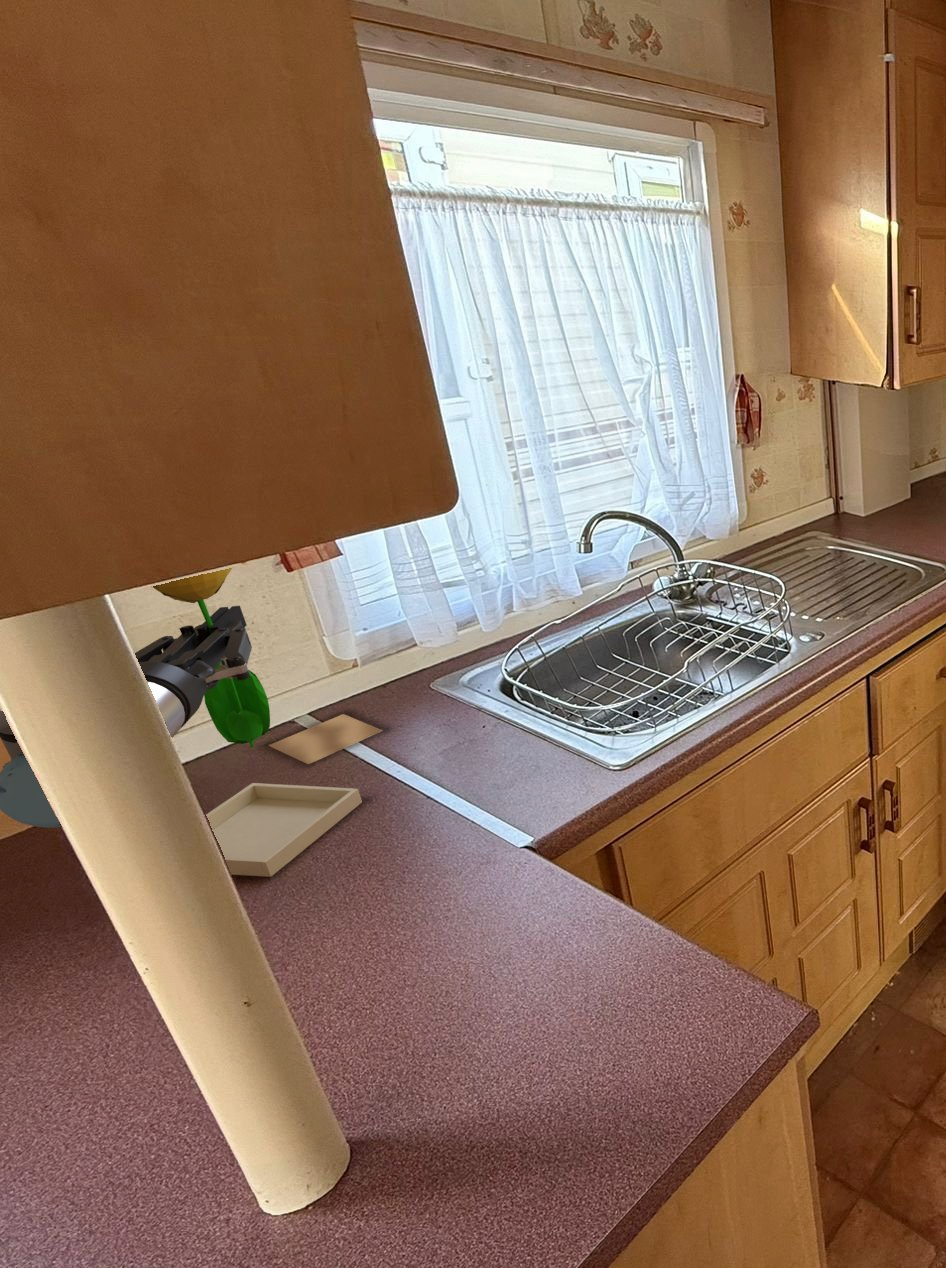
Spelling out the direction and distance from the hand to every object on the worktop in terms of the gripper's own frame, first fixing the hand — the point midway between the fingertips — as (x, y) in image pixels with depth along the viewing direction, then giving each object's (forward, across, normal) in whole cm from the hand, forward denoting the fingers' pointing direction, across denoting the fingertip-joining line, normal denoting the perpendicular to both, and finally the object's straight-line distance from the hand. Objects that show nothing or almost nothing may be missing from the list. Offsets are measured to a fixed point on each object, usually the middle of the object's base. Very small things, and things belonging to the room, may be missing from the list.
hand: (233, 616), depth 105 cm
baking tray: (-10, 0, -26) cm, 28 cm away
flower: (-6, 0, -16) cm, 17 cm away
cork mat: (+12, 0, -26) cm, 29 cm away
